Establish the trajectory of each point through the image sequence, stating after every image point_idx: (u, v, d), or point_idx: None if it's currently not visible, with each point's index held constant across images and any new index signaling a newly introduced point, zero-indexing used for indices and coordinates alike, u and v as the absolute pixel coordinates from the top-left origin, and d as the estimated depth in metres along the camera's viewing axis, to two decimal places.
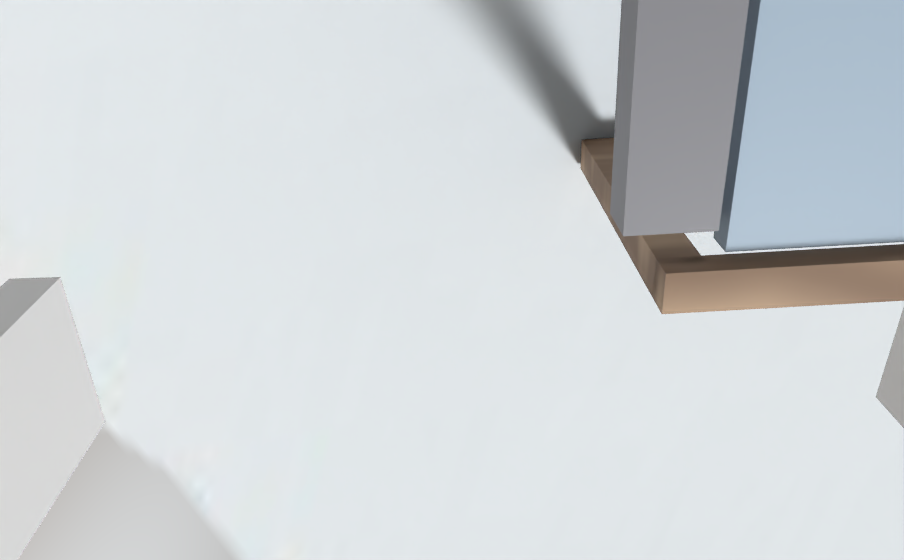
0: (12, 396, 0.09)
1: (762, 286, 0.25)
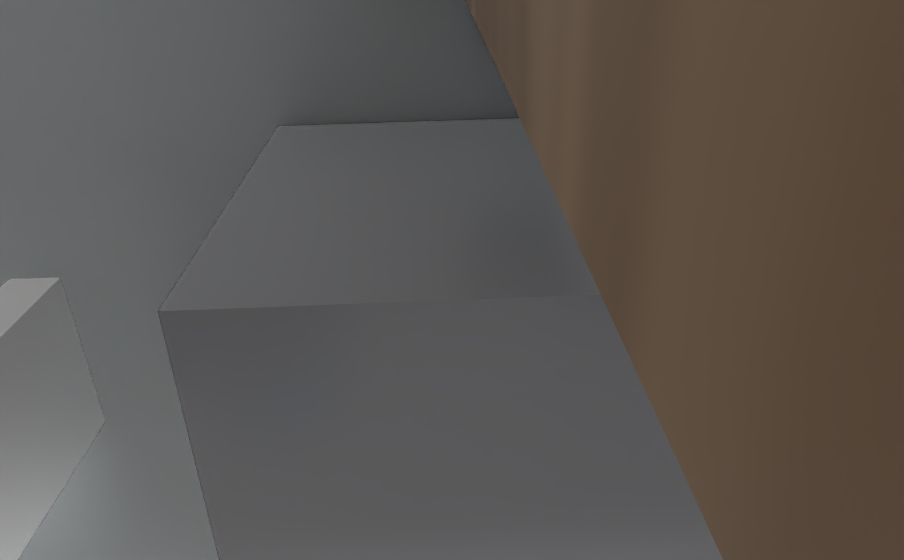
0: (12, 396, 0.09)
1: None
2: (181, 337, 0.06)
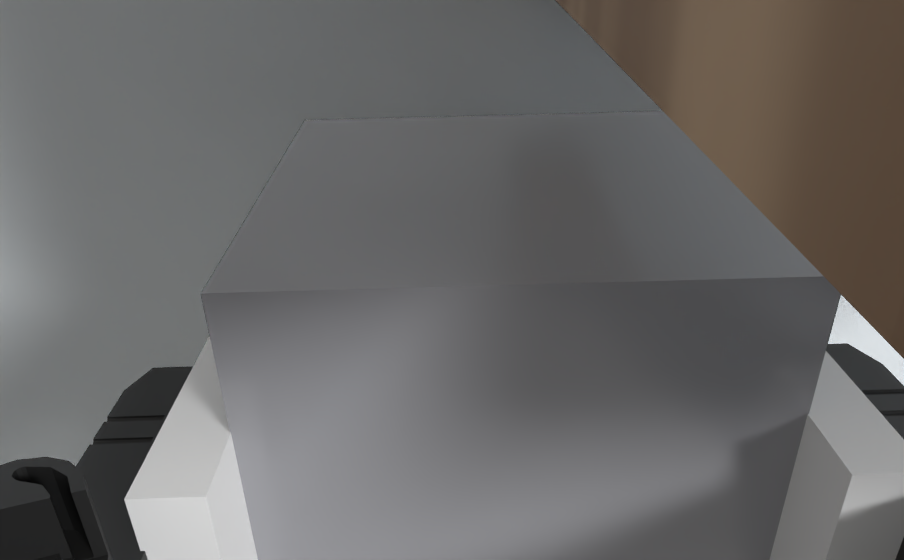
0: None
1: None
2: (222, 318, 0.07)
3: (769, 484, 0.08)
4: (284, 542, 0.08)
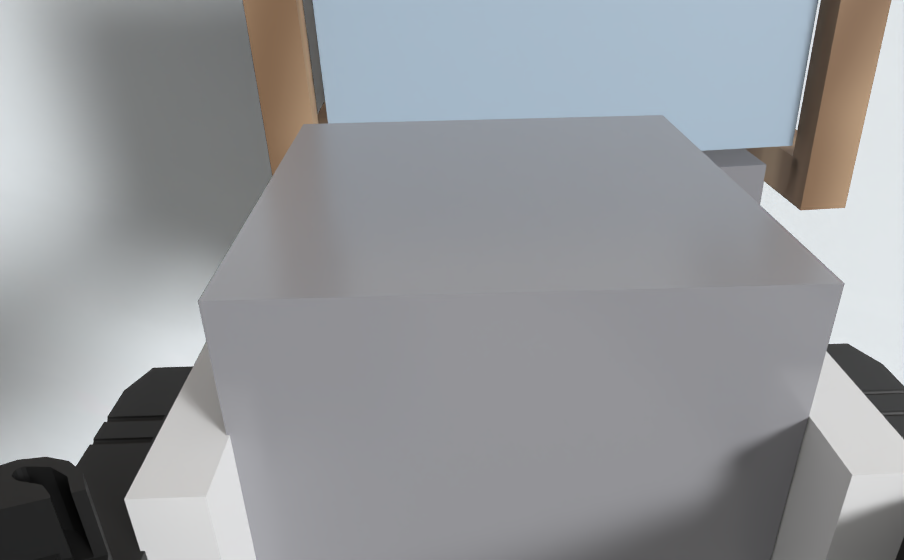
0: None
1: (839, 114, 0.24)
2: (220, 326, 0.07)
3: (768, 491, 0.08)
4: (282, 549, 0.08)
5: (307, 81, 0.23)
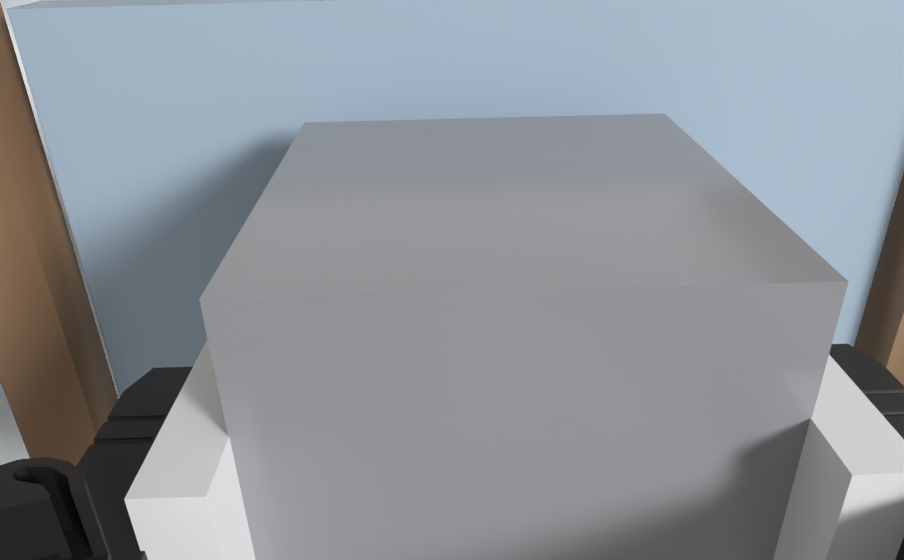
0: None
1: None
2: (221, 324, 0.07)
3: (771, 490, 0.08)
4: (283, 548, 0.08)
5: None
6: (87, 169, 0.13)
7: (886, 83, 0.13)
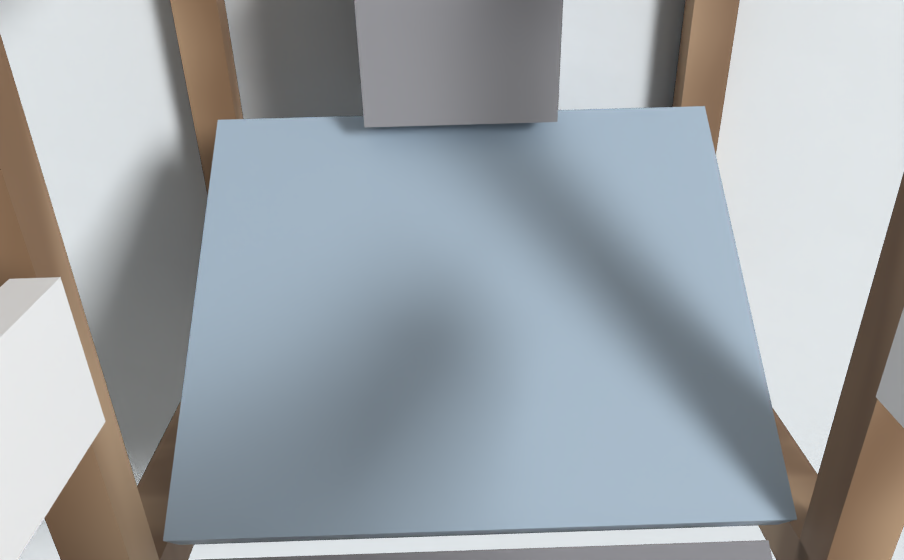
0: (12, 396, 0.09)
1: (868, 523, 0.17)
2: None
3: None
4: None
5: (106, 482, 0.16)
6: (228, 193, 0.22)
7: (690, 148, 0.23)
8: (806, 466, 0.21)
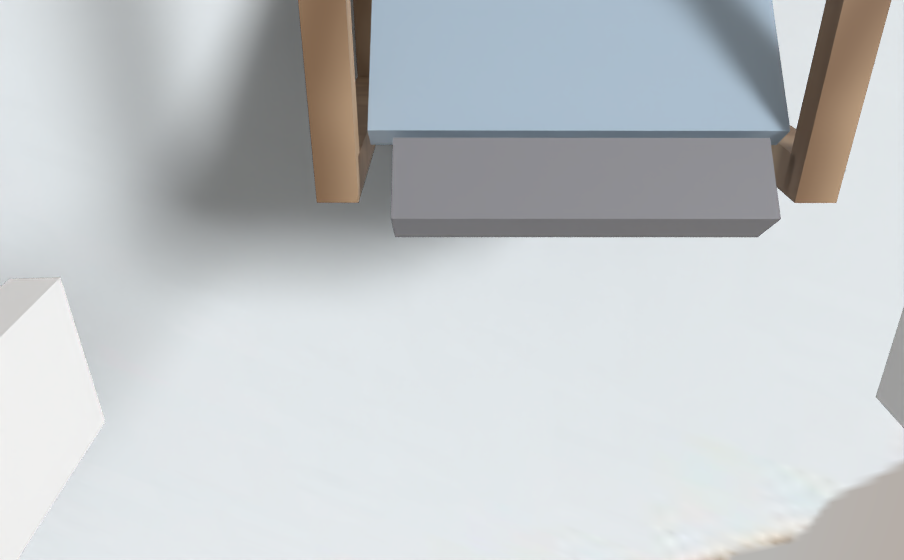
0: (12, 396, 0.09)
1: (835, 115, 0.26)
2: None
3: None
4: None
5: (349, 57, 0.25)
6: None
7: None
8: None
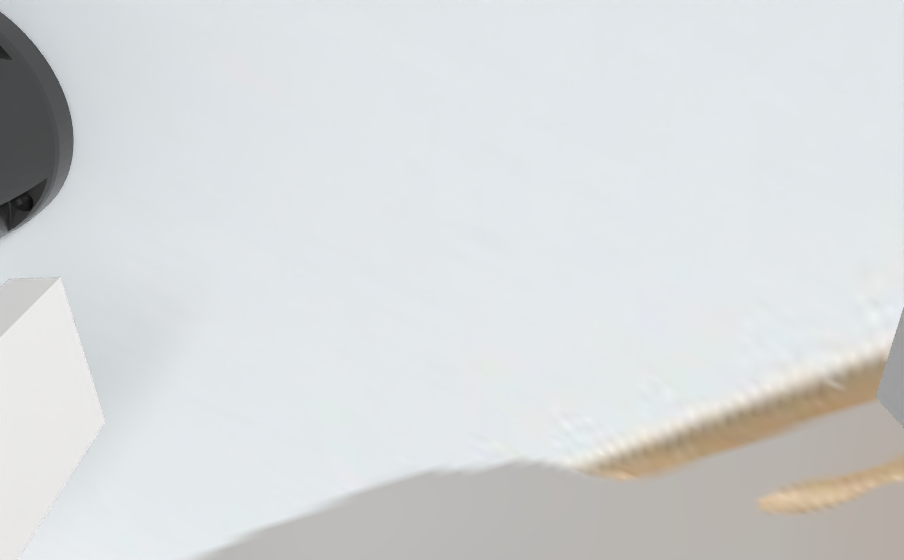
0: (12, 396, 0.09)
1: None
2: None
3: None
4: None
5: None
6: None
7: None
8: None
